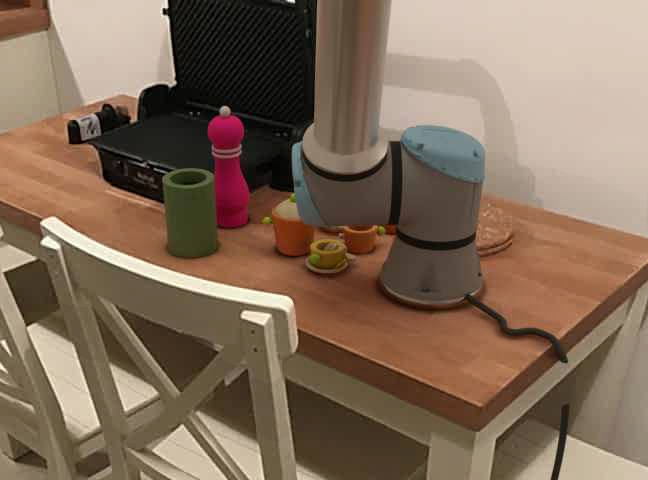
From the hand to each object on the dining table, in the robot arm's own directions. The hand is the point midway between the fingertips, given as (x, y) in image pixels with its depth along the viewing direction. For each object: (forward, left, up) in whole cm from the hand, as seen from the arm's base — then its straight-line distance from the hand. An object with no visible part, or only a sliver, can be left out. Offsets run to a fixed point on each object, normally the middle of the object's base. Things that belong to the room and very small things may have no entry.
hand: (337, 15), depth 147 cm
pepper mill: (+2, +20, -32) cm, 38 cm away
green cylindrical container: (-4, +30, -32) cm, 44 cm away
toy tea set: (-15, +8, -32) cm, 36 cm away
